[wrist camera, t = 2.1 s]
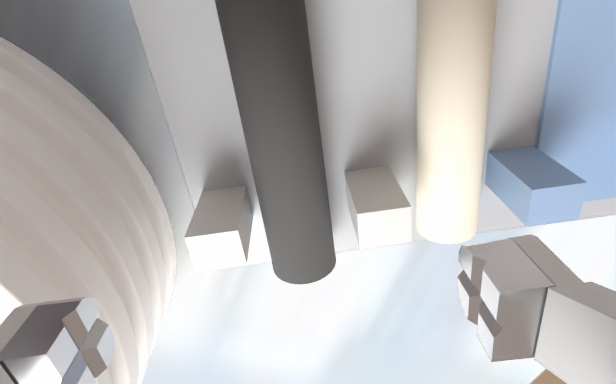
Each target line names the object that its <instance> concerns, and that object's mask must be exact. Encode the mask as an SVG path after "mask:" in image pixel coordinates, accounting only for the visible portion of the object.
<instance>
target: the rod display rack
mask: <svg viewBox="0 0 616 384" xmlns="http://www.w3.org/2000/svg"><path fill="white" fill-rule="evenodd" d="M129 3H130V7H131V10H132V13H133V16H134V19H135V23H136V26H137V29H138V32H139V35H140V38H141V42H142V45H143V48H144V51H145V54H146V58H147V61H148V64H149V67H150V70H151V74H152V77H153V80H154V83H155V86H156V90H157V93H158V96H159V99H160V102H161V105H162V109H163V112H164V115H165V118H166V121H167V125H168V128H169V131H170V134H171V137H172V141H173V144H174V147H175V150H176V153H177V157H178V160H179V163H180V166H181V169H182V172H183V176H184V179H185V182H186V185H187V188H188V192H189V195H190V198H191V201H192V204H193V208H194V214H193V217H192V219H191V222H190V224H189V227H188V230H187V232H186V235H185V237H184V239H185V241H186V244H187V247H188V250H189V253H190V256H191V259H192V262H193V265H194V268H195V271H203V270H210V269H220V268H228V267H235V266H242V265H250V264H257V263H265V262H272V260H271V255H270V251H269V246H268V242H267V237H266V233H265V228H264V223H263V219H262V214H261V210H260V205H259V201H258V196H257V191H256V187H255V182H254V178H253V173H252V169H251V164H250V160H249V155H248V150H247V146H246V141H245V137H244V132H243V128H242V123H241V118H240V114H239V109H238V105H237V100H236V96H235V91H234V87H233V82H232V77H231V73H230V68H229V64H228V59H227V55H226V50H225V45H224V41H223V36H222V32H221V27H220V23H219V18H218V14H217V9H216V4H215V0H129ZM305 8H306V16H307V24H308V33H309V41H310V49H311V57H312V66H313V74H314V82H315V91H316V99H317V107H318V116H319V124H320V132H321V140H322V149H323V157H324V165H325V174H326V182H327V190H328V199H329V207H330V215H331V223H332V232H333V240H334V248H335V253H338V252H346V251H353V250H360V249H368V248H375V247H382V246H390V245H397V244H405V243H412V242H419V241H427V240H428V239H426V238H425V237H423V236H422V235H421V234H420V233H419V232H418V231H417V227H416V155H417V0H305ZM611 215H616V0H498V1H497V12H496V23H495V34H494V45H493V56H492V67H491V78H490V89H489V101H488V112H487V123H486V134H485V145H484V156H483V167H482V178H481V189H480V200H479V211H478V222H477V232H476V234H478V233H486V232H493V231H500V230H508V229H515V228H522V227H530V226H537V225H545V224H552V223H559V222H567V221H574V220H581V219H589V218H596V217H604V216H611Z"/></svg>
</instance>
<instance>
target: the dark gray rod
mask: <svg viewBox="0 0 616 384" xmlns="http://www.w3.org/2000/svg"><path fill="white" fill-rule="evenodd" d="M215 4H216V9H217V14H218V18H219V23H220V27H221V32H222V36H223V41H224V45H225V50H226V55H227V59H228V64H229V68H230V73H231V77H232V82H233V87H234V91H235V96H236V100H237V105H238V109H239V114H240V118H241V123H242V128H243V132H244V137H245V141H246V146H247V150H248V155H249V160H250V164H251V169H252V173H253V178H254V182H255V187H256V191H257V196H258V201H259V205H260V210H261V214H262V219H263V223H264V228H265V233H266V237H267V242H268V246H269V251H270V255H271V260H272V264H273V269H274V272H275V274H276V275H277V277H278V278H280V279H281V280H283V281H285V282H288V283H292V284H308V283H312V282H315V281H318V280H320V279H322V278H324V277H325V276H327V275H328V274H329V273H330V272H331V271H332V270H333V268H334V266H335V263H336V257H335V248H334V240H333V232H332V223H331V215H330V207H329V199H328V190H327V182H326V174H325V165H324V157H323V149H322V140H321V132H320V124H319V116H318V107H317V99H316V91H315V82H314V74H313V66H312V57H311V49H310V41H309V33H308V24H307V16H306V8H305V0H215Z"/></svg>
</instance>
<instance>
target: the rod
mask: <svg viewBox="0 0 616 384" xmlns="http://www.w3.org/2000/svg"><path fill="white" fill-rule="evenodd" d="M497 1H498V0H417V155H416V227H417V231H418V232H419V233H420V234H421V235H422V236H423V237H425V238H426V239H428V240H431V241H433V242H437V243H443V244H457V243H462V242H465V241H468V240H469V239H471V238H472V237H473V236H474V235H475V234H476V232H477V222H478V211H479V200H480V189H481V178H482V167H483V156H484V145H485V134H486V123H487V112H488V101H489V89H490V78H491V67H492V56H493V45H494V34H495V23H496V12H497Z"/></svg>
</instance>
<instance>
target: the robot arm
mask: <svg viewBox="0 0 616 384" xmlns="http://www.w3.org/2000/svg"><path fill="white" fill-rule="evenodd" d="M459 262H460V264H461V266H462V267H463V269H464V270H463V271H462V272H461V273H460V275H459V276H458V282H457V290H458V295H459V301H460V304H461V306H462V309H463V311H464V313H465V315H466V317H467V319H468V320H470V321H471V322H473V323H475V324H476V325H478V326H477V337H478V339H479V341H480V343H481V344H482V346H483V348H484V350H485V352H486V353H487V355H488V357H489V359H490V360H491V362H495V361H504V360H514V359H523V358H533V357H534V360H535V361H537V362H538V363H540V364H541V365H542V366H544V367H545V368H546V369H548V370H549V371H551V372H552V373H553V374H555V375H556V376H557V377H559V378H560V379H562V380H563V381H564V382H566V383H567V384H616V291H613V290H611V289H608V288H606V287H603V286H601V285H598V284H596V283H593V282H587V283H584V282H583V281H582V280H581V279H579V278H578V277H577V276H576V275H575V274H574V273H573V272H572V271H571V270H570V269H569V268H568V267H567V266H566V265H565V264H564V263H563V262H562V261H561V260H560V259H559V258H558V257H557V256H556V255H555V254H554V253H553V252H552V251H551V250H550V249H549V248H548V247H547V246H546V245H545V244H544V243H543V242H542V241H541V240H540V239H539V238H538V237H536V236H534V235H525V236H519V237H513V238H508V239H505V240H498V241H491V242H484V243H477V244H470V245H463V246H461V248H460V251H459ZM100 311H101V309H100V307H99V306H98V304H97V302H96V300H95V299H94V298H90V297H81V298H73V299H64V300H55V301H46V302H40V303H32V304H24V305H21V306H19V307H16V308H14V309H13V311H12V312H11V313H10V314H9V315H8V316H7V318H6V319H5V320H4V321H3V322H2V323H1V325H0V384H98V382H97V379H96V378H97V377H98V376H99V375H100V374H101V373H102V372H103V371H105V370H106V369H107V368H108V366H109V363H110V361H111V359H112V356H113V348H114V339H113V334H112V331H111V329H110V327H109V325H108V324H107V323H105V322H103V321H102V320H100V319H99V318H98V316H99V314H100Z"/></svg>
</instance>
